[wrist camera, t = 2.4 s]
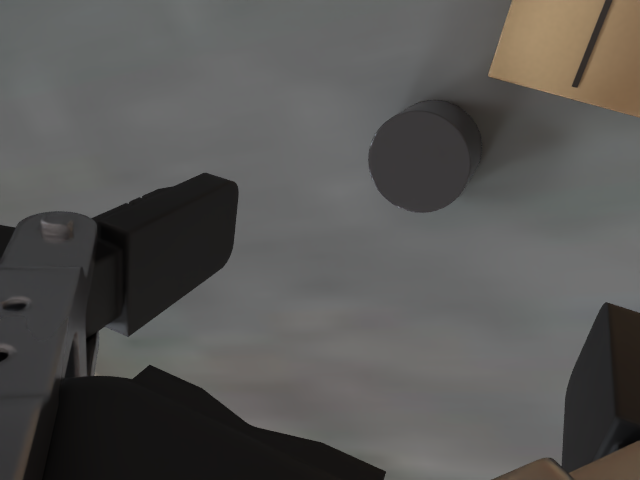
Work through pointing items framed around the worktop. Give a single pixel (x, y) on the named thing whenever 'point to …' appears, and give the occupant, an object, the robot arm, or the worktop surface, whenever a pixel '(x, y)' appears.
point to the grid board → (574, 50)
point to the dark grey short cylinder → (425, 155)
